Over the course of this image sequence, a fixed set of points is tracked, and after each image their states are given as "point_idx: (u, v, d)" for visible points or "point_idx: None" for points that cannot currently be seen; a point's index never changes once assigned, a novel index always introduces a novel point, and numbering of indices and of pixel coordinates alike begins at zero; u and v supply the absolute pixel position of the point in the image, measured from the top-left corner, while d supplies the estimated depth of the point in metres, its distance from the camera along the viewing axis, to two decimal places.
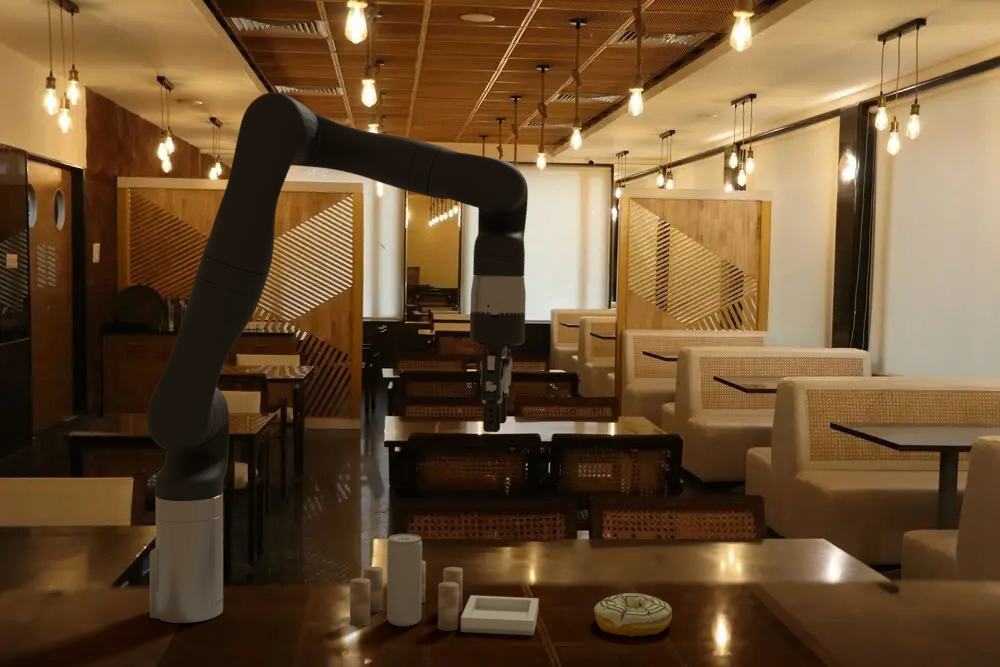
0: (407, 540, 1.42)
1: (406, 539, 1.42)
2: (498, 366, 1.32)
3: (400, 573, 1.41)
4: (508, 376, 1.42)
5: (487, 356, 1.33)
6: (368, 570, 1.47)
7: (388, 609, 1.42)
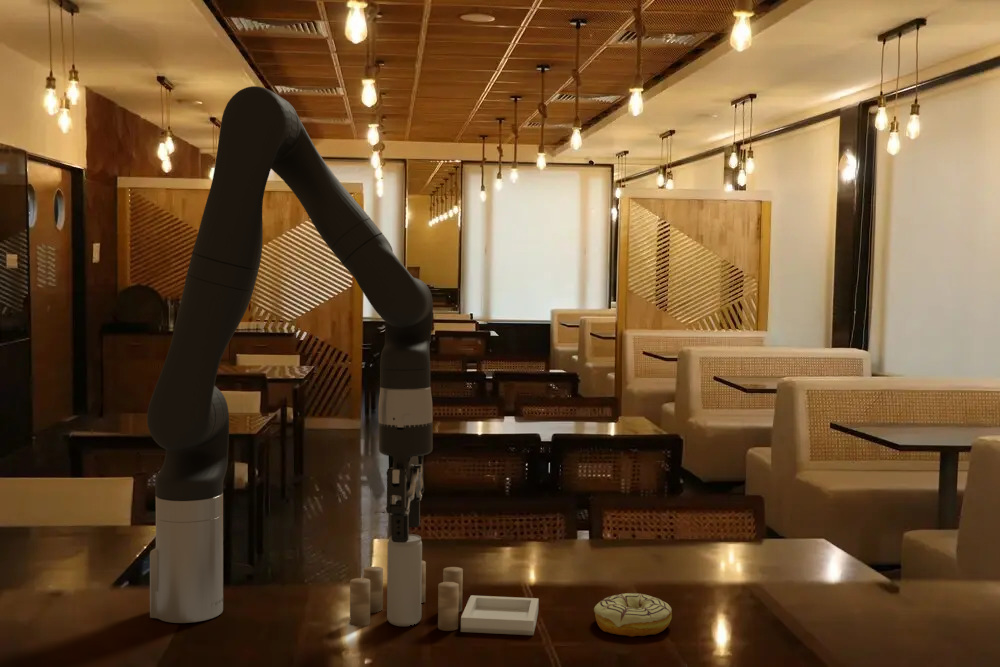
0: None
1: None
2: (403, 480, 1.35)
3: (400, 573, 1.41)
4: (419, 482, 1.44)
5: (392, 470, 1.36)
6: (368, 570, 1.47)
7: (388, 609, 1.42)
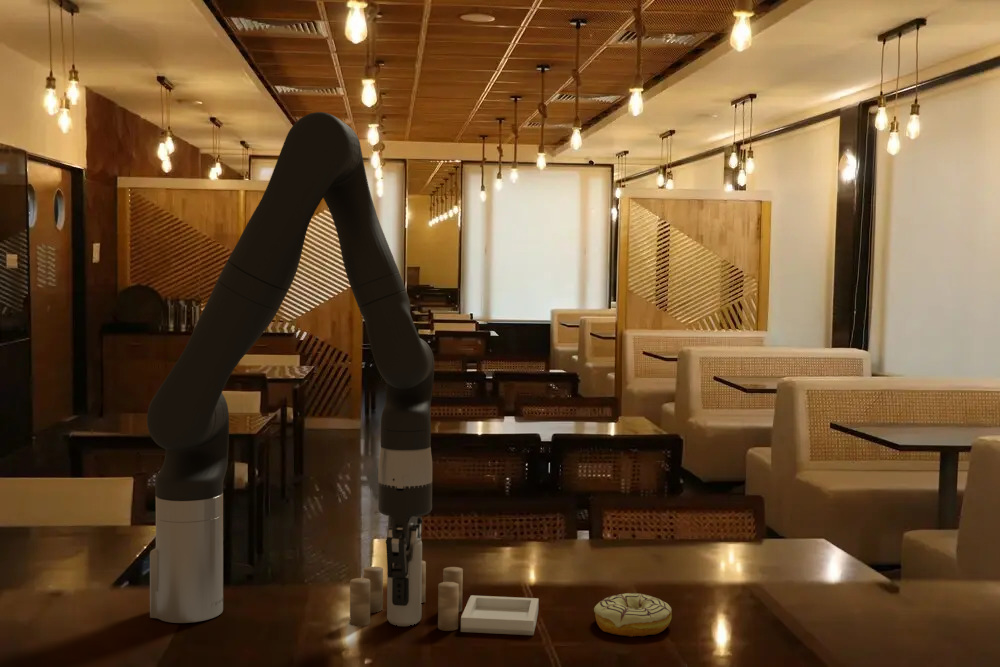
0: None
1: None
2: (402, 550, 1.36)
3: None
4: None
5: (391, 540, 1.36)
6: (368, 570, 1.47)
7: (388, 609, 1.42)
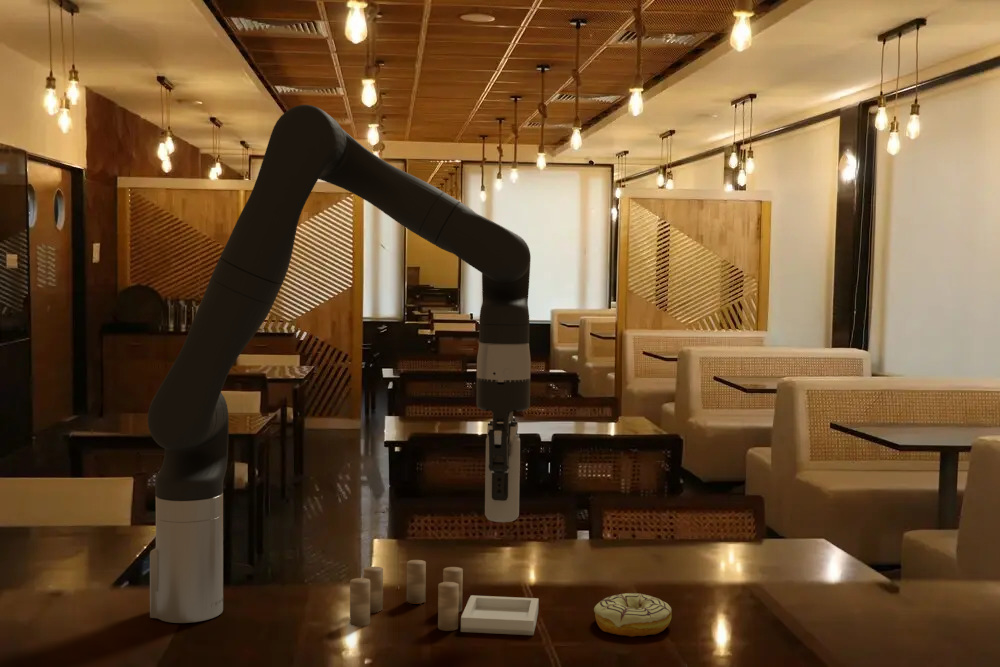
0: None
1: None
2: (505, 442, 1.36)
3: None
4: None
5: (494, 432, 1.36)
6: (368, 570, 1.47)
7: (486, 505, 1.42)
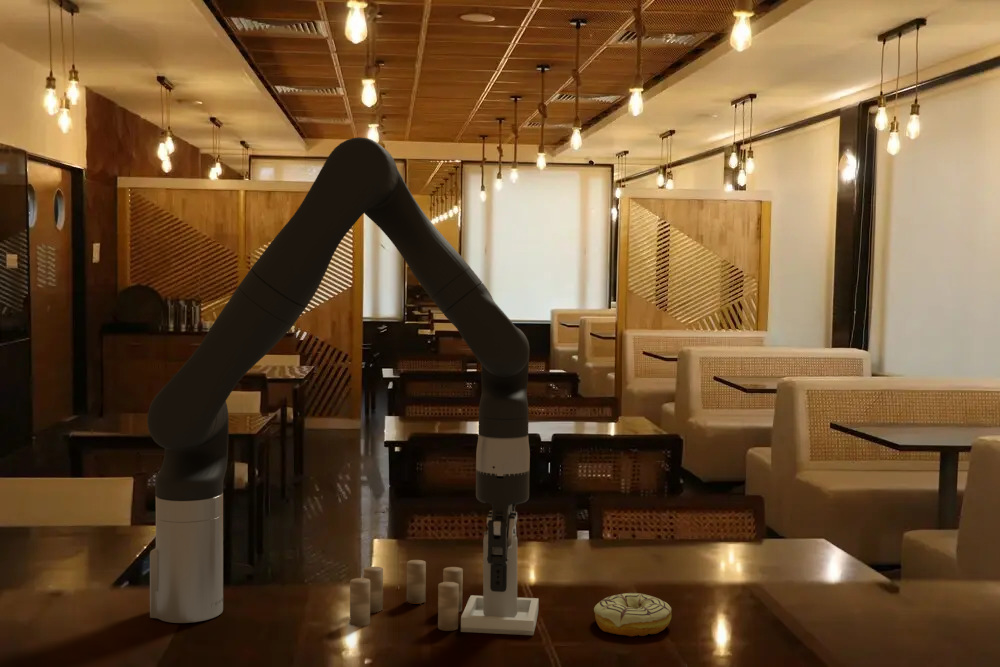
0: None
1: None
2: (504, 532, 1.36)
3: None
4: (513, 530, 1.45)
5: (493, 522, 1.37)
6: (368, 570, 1.47)
7: (485, 604, 1.43)
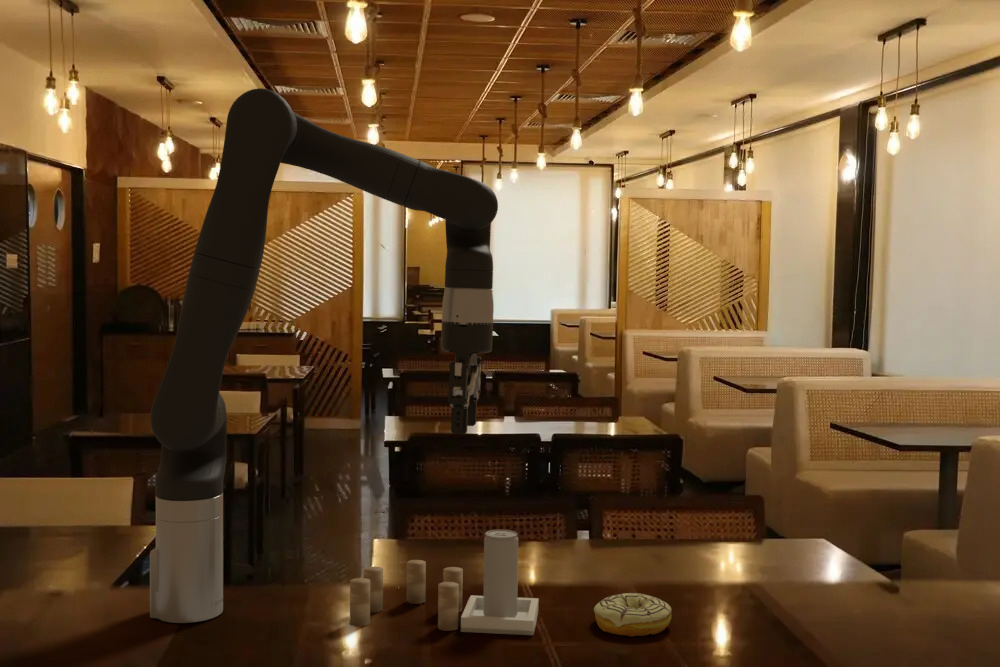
0: (504, 536, 1.42)
1: (503, 534, 1.43)
2: (464, 372, 1.42)
3: (498, 568, 1.41)
4: (477, 382, 1.51)
5: (454, 363, 1.43)
6: (368, 570, 1.47)
7: (485, 604, 1.43)
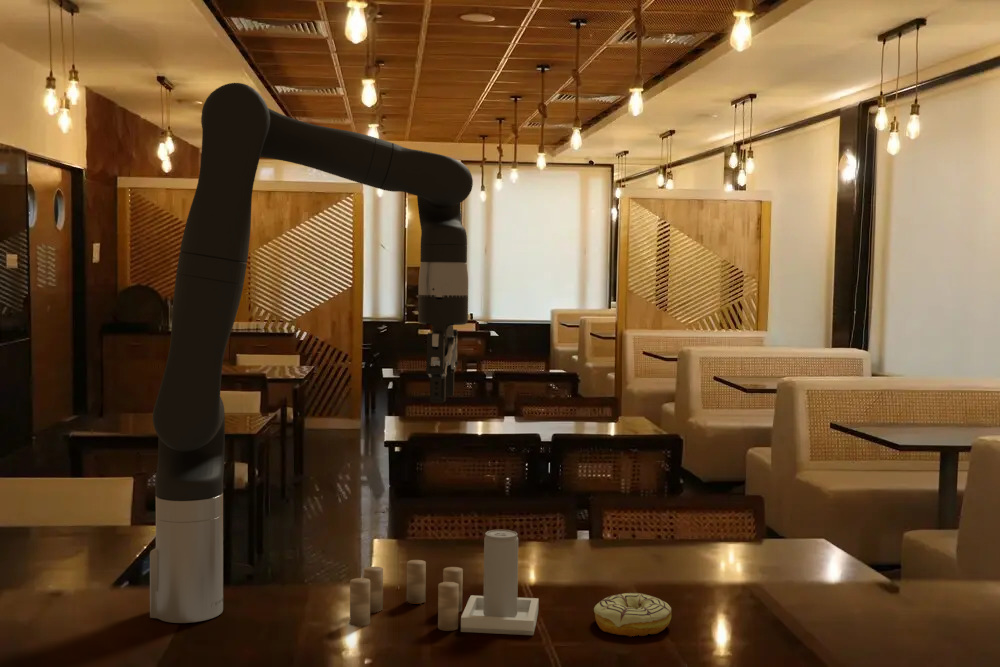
0: (504, 536, 1.42)
1: (503, 534, 1.43)
2: (441, 343, 1.47)
3: (498, 568, 1.41)
4: (454, 353, 1.56)
5: (432, 334, 1.47)
6: (368, 570, 1.47)
7: (485, 604, 1.43)
